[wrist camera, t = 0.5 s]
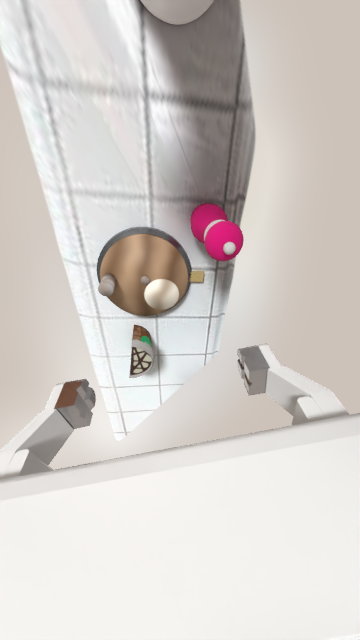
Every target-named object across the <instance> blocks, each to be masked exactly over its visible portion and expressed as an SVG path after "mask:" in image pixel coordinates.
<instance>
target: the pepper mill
mask: <svg viewBox="0 0 360 640" xmlns="http://www.w3.org/2000/svg"><path fill="white" fill-rule="evenodd" d="M191 229H192V233H193V235H194V236H195V237H196V238H197V239H198V240H199V241H200V242H202V243H205V248H206V251H207V252H208V254H209V255H210V256H211V257H212V258H213V259H216V260H218V261H227V260H230V259H232V258H234V257H235V256H236V255H237V254H238V253H239V252H240V250H241V248H242V245H243V234H242V231H241V230H240V228H239V227H238V226H237V225H236V224H235V223H233V222H230V221H228V219H227V216H226V214H225V212H224V211H223V209H222V208H221V207H219V206H217V205H215V204H208V203H205V204H201V205H199V206H198V207H197V208H196V209H195V210H194V211H193V213H192V215H191Z"/></svg>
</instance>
